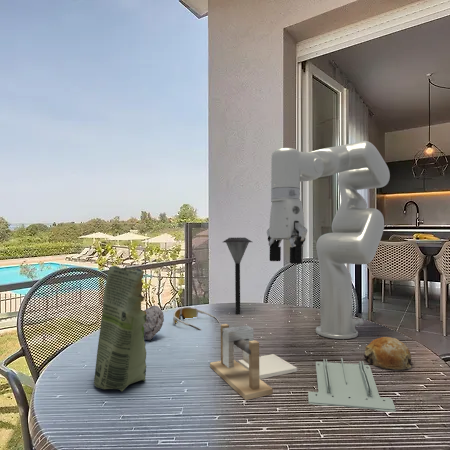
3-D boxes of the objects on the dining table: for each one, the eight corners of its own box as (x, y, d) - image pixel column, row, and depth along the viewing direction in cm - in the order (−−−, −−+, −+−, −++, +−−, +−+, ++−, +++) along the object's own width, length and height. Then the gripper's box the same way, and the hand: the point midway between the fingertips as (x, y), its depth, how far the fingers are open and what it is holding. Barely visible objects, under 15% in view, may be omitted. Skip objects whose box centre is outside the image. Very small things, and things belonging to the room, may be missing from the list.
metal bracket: (306, 351, 75) (378, 355, 72) (306, 374, 77) (377, 379, 74) (308, 400, 62) (398, 407, 59) (309, 426, 63) (396, 435, 60)
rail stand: (210, 366, 81) (209, 324, 81) (232, 362, 84) (232, 321, 84) (245, 400, 65) (245, 346, 65) (272, 393, 67) (272, 342, 67)
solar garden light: (259, 313, 135) (259, 237, 135) (239, 319, 126) (238, 237, 127) (236, 309, 143) (236, 237, 144) (215, 314, 134) (215, 237, 135)
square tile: (273, 357, 87) (273, 354, 87) (297, 371, 78) (297, 367, 78) (238, 363, 83) (238, 360, 83) (259, 379, 74) (259, 375, 74)
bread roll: (400, 389, 77) (417, 359, 75) (357, 361, 82) (372, 333, 80) (404, 373, 85) (419, 346, 84) (364, 349, 91) (378, 323, 89)
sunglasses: (191, 317, 131) (193, 304, 131) (223, 328, 122) (224, 315, 122) (164, 325, 119) (166, 311, 119) (197, 338, 111) (199, 323, 110)
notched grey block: (247, 358, 77) (247, 325, 77) (253, 363, 74) (253, 328, 74) (222, 363, 74) (222, 328, 75) (228, 368, 72) (228, 331, 72)
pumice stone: (159, 333, 109) (158, 301, 109) (168, 339, 102) (168, 306, 102) (126, 338, 103) (126, 305, 104) (134, 345, 97) (134, 310, 97)
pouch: (104, 371, 79) (105, 262, 79) (156, 372, 78) (156, 262, 79) (83, 394, 67) (84, 267, 68) (143, 395, 67) (143, 267, 68)
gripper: (318, 193, 83) (318, 264, 82) (280, 200, 99) (279, 260, 98) (292, 191, 80) (291, 264, 79) (257, 199, 96) (256, 260, 95)
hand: (284, 262), depth 89 cm, fingers open, 9 cm apart
